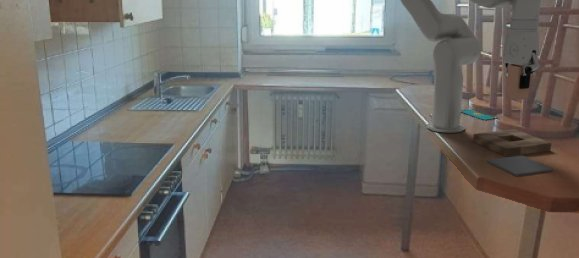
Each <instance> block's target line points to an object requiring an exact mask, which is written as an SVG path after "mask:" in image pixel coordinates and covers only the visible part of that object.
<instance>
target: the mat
mask: <svg viewBox="0 0 579 258" xmlns="http://www.w3.org/2000/svg"><path fill="white" fill-rule="evenodd" d="M486 161H487V162H486V163H488V164H491V165H493V166H495V167H497V168H498V169H500V170H502V171H505V172H507V173H509V174H510V175H512V176H515V177H521V176H526V175H533V174H534V175H535V174H540V173H541V174H543V173H548V172H553V170H554V169H553V167H549V166H547V165H545V164H542V163H540V162H538V161H536V160H534V159H531V158H530V157H526V156H524V154H522V155H514V156H504V157H499V158H498V157H497V158H491V159H487V160H486Z"/></svg>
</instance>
